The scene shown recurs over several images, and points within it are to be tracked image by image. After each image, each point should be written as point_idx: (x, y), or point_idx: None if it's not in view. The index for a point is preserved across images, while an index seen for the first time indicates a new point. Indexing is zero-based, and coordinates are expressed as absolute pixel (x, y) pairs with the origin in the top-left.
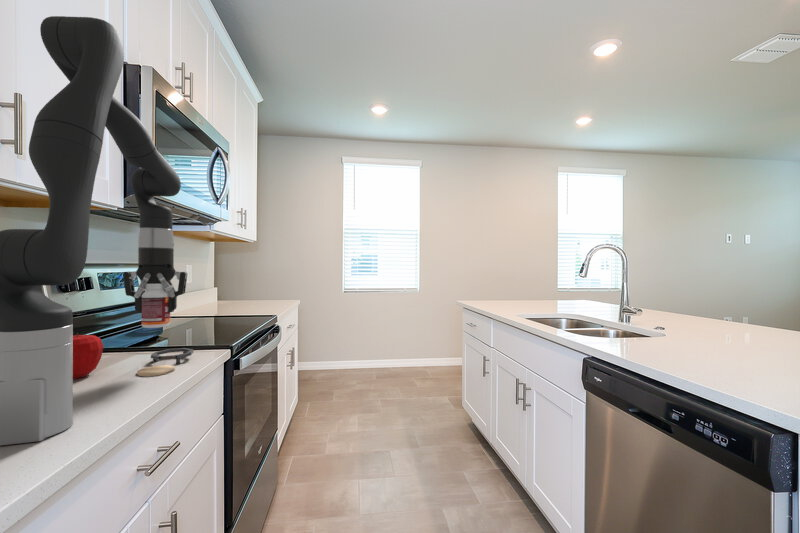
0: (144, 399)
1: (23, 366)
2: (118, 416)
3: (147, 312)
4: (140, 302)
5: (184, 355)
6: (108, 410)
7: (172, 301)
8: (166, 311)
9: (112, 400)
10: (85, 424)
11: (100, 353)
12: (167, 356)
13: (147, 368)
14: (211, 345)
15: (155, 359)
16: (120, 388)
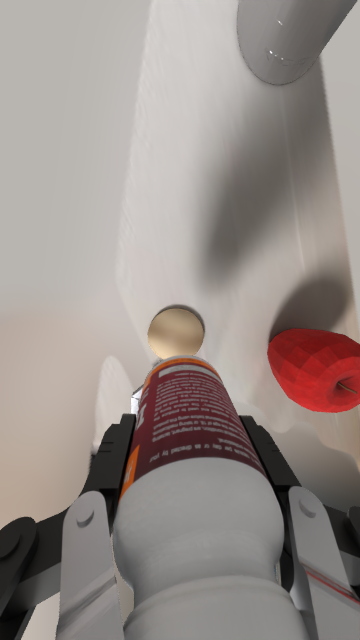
0: (155, 153)
1: None
2: (174, 51)
3: (211, 389)
4: (262, 457)
5: (140, 388)
6: (199, 106)
7: (105, 467)
8: (141, 407)
9: (206, 173)
10: (217, 26)
11: (275, 362)
12: None
13: (191, 347)
14: None
15: None
16: (209, 248)
